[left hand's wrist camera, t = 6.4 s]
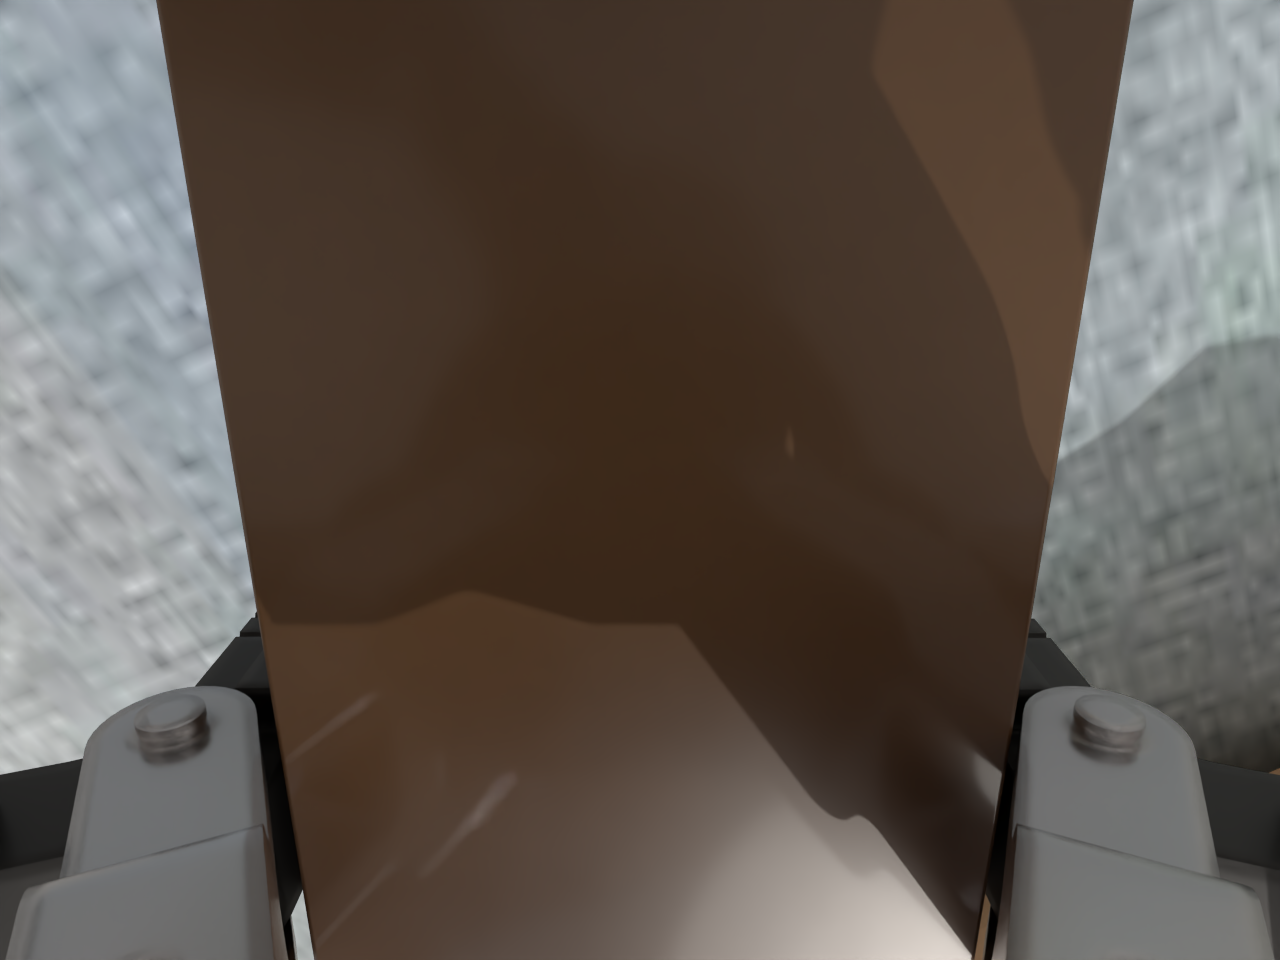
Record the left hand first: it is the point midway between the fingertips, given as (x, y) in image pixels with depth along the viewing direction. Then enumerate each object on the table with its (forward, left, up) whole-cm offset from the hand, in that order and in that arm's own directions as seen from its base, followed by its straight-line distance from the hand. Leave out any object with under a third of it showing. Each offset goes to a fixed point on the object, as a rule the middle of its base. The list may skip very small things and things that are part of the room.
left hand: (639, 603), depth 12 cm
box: (0, +7, -8) cm, 10 cm away
